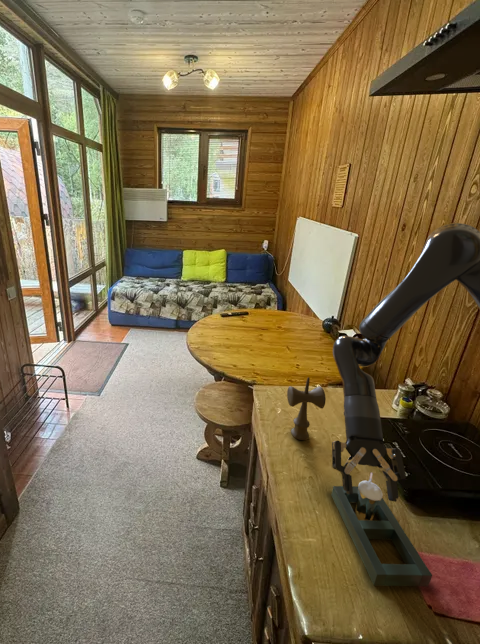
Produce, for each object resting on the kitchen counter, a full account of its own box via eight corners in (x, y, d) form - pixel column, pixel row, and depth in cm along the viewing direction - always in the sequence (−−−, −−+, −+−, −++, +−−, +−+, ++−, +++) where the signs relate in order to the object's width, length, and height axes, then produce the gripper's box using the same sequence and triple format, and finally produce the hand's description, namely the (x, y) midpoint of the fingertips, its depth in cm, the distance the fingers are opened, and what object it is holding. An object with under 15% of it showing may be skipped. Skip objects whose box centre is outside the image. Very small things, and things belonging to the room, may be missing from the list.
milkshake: (374, 510, 70) (383, 476, 67) (375, 531, 65) (385, 496, 62) (352, 501, 72) (360, 468, 69) (351, 521, 67) (360, 486, 64)
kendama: (319, 443, 89) (330, 383, 83) (285, 442, 89) (294, 382, 83) (312, 429, 95) (322, 372, 89) (280, 427, 95) (288, 371, 89)
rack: (372, 496, 73) (375, 486, 72) (428, 586, 56) (432, 575, 55) (331, 495, 73) (333, 485, 72) (373, 585, 56) (377, 574, 55)
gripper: (335, 411, 70) (341, 494, 63) (402, 419, 68) (417, 505, 61) (325, 416, 77) (330, 491, 70) (387, 423, 75) (398, 501, 68)
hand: (371, 497), depth 65 cm, fingers open, 8 cm apart
